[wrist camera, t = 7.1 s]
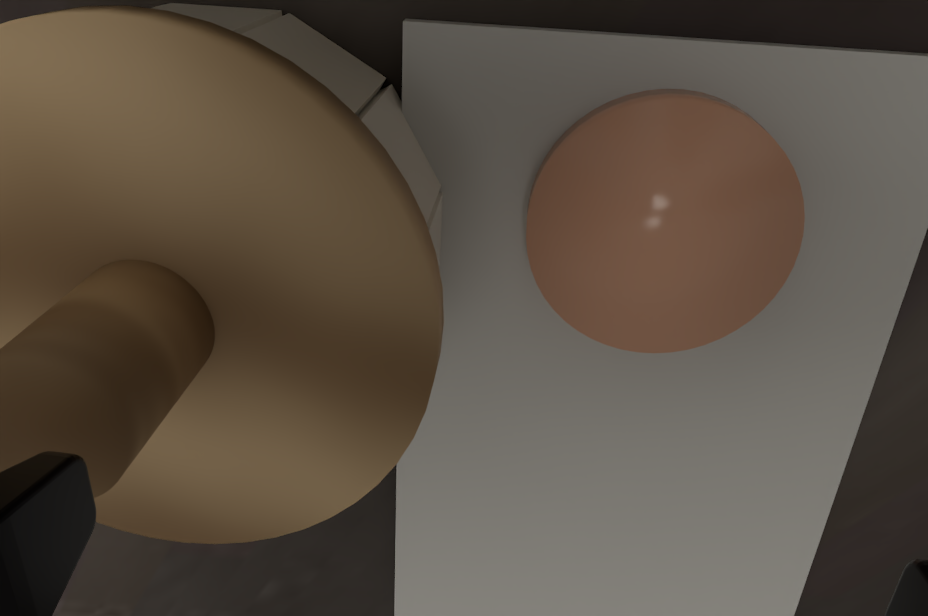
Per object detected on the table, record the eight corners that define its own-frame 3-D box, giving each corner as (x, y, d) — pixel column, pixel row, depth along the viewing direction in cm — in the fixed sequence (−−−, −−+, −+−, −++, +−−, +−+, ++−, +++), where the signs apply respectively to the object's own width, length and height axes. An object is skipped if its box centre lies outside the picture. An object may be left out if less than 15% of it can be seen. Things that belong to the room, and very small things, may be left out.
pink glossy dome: (825, 103, 17) (841, 114, 16) (754, 345, 20) (764, 367, 19) (544, 74, 17) (544, 84, 16) (513, 318, 20) (511, 337, 19)
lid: (436, 534, 18) (405, 715, 14) (-27, 488, 19) (-183, 649, 15) (453, 24, 13) (411, 78, 9) (-185, -13, 14) (-489, 24, 10)
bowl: (451, 21, 17) (422, 58, 13) (436, 404, 22) (411, 517, 18) (8, -9, 18) (-149, 18, 14) (84, 370, 22) (-16, 472, 18)
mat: (976, 56, 16) (986, 59, 16) (760, 691, 26) (763, 702, 25) (406, 18, 17) (402, 20, 17) (395, 649, 26) (393, 659, 26)
